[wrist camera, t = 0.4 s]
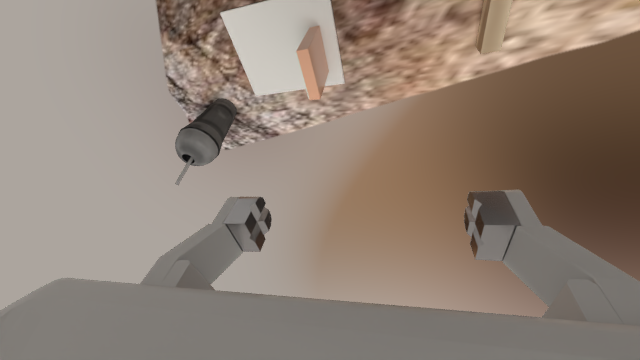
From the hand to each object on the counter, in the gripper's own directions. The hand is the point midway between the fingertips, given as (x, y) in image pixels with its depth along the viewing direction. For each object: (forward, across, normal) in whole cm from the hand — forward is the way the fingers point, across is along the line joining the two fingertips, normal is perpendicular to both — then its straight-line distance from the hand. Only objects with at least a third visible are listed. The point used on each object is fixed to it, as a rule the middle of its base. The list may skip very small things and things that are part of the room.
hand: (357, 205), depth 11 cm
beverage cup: (+39, +31, +10) cm, 51 cm away
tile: (+32, +9, +3) cm, 34 cm away
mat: (+37, +14, +1) cm, 40 cm away
